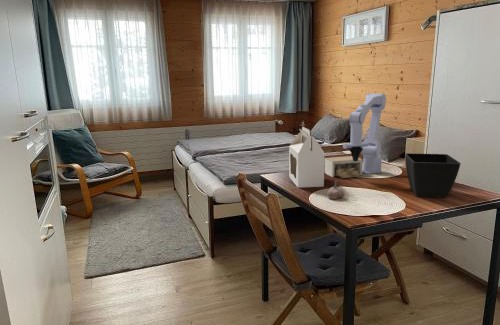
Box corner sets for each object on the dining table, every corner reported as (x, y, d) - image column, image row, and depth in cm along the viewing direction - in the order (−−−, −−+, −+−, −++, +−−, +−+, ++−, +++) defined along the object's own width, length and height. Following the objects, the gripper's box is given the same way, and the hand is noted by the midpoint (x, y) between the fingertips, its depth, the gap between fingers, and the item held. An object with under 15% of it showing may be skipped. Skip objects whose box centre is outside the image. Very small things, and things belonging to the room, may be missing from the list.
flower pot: (457, 200, 163) (461, 162, 159) (411, 199, 166) (413, 161, 163) (444, 188, 181) (447, 153, 177) (402, 187, 184) (404, 153, 181)
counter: (353, 170, 220) (353, 155, 218) (362, 174, 210) (362, 159, 208) (324, 172, 215) (324, 158, 214) (332, 177, 206) (332, 161, 204)
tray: (350, 171, 216) (351, 163, 215) (360, 176, 206) (361, 167, 205) (331, 173, 213) (331, 164, 212) (340, 178, 203) (341, 168, 202)
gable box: (289, 176, 209) (289, 126, 203) (312, 175, 210) (313, 125, 204) (297, 188, 187) (298, 131, 181) (324, 186, 188) (325, 130, 182)
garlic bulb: (343, 195, 173) (343, 178, 171) (344, 200, 166) (345, 183, 164) (326, 195, 174) (326, 178, 173) (326, 200, 167) (327, 182, 166)
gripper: (363, 133, 202) (362, 158, 204) (339, 135, 197) (339, 160, 200) (371, 135, 195) (370, 160, 198) (347, 137, 190) (346, 163, 193)
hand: (355, 161), depth 198 cm, fingers closed
